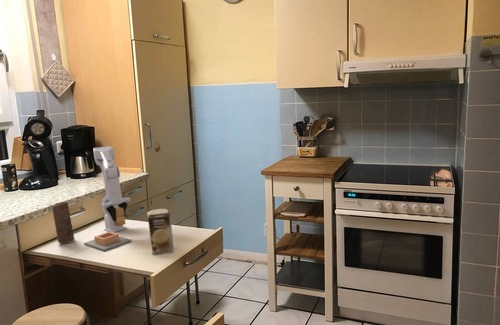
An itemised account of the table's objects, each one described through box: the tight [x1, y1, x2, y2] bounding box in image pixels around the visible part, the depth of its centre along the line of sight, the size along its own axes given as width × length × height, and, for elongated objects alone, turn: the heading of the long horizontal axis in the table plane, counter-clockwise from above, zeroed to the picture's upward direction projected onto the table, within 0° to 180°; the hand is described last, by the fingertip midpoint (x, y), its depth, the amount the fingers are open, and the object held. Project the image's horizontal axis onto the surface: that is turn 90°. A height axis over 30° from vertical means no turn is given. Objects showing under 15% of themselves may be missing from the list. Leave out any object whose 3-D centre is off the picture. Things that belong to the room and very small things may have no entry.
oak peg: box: [113, 207, 126, 226], centre depth 199 cm, size 4×4×8 cm
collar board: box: [83, 231, 132, 253], centre depth 195 cm, size 18×14×4 cm
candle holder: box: [146, 208, 169, 218], centre depth 199 cm, size 10×10×12 cm
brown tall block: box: [51, 201, 75, 244], centre depth 201 cm, size 8×7×20 cm
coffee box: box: [147, 212, 175, 256], centre depth 176 cm, size 9×6×16 cm
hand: (118, 219), depth 199 cm, fingers closed on oak peg, 4 cm apart
